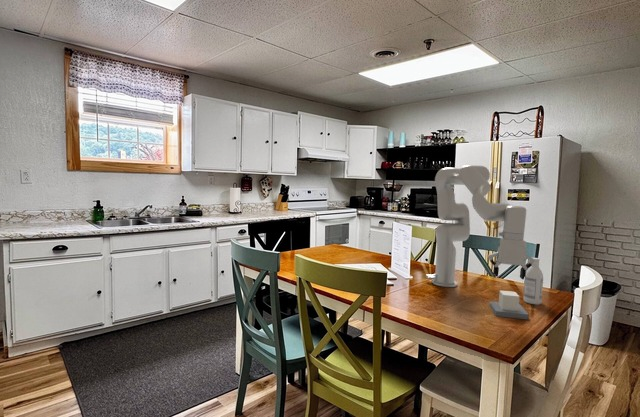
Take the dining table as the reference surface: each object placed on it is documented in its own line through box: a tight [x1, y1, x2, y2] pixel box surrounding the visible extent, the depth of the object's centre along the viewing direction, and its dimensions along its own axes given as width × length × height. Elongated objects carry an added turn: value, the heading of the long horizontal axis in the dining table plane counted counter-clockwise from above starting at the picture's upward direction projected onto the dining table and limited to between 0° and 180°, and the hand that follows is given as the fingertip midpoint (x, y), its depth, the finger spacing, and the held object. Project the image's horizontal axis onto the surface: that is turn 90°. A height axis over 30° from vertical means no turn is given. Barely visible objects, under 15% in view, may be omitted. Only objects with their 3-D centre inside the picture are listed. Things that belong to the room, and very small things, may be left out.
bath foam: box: [523, 257, 544, 305], centre depth 160 cm, size 7×7×20 cm
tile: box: [488, 301, 530, 320], centre depth 147 cm, size 12×12×2 cm
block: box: [498, 290, 520, 311], centre depth 147 cm, size 6×6×6 cm
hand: (508, 277), depth 147 cm, fingers open, 9 cm apart
